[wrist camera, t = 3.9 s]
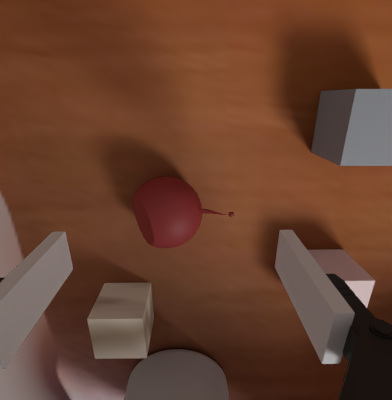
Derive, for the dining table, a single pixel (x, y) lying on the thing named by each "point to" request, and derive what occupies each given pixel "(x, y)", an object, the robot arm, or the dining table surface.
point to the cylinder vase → (177, 377)
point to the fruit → (168, 211)
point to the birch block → (122, 321)
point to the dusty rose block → (346, 271)
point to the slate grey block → (354, 127)
